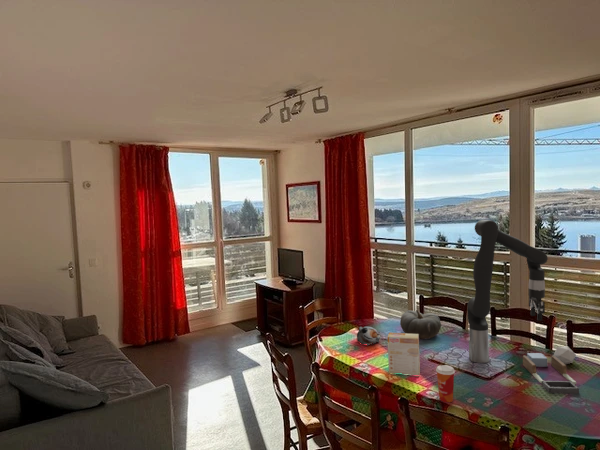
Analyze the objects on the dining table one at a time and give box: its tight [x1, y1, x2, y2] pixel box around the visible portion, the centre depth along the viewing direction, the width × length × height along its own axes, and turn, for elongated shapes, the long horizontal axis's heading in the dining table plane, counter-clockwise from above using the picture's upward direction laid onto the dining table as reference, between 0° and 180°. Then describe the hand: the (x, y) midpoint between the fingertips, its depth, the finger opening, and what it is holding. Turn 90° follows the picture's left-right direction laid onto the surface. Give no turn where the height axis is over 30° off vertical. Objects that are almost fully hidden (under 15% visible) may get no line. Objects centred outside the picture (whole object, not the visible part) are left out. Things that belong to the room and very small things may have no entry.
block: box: [526, 352, 548, 368], centre depth 207 cm, size 7×7×4 cm
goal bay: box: [532, 372, 577, 385], centre depth 189 cm, size 15×9×1 cm, turn 81°
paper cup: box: [435, 364, 456, 403], centre depth 174 cm, size 8×8×14 cm
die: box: [552, 345, 577, 365], centre depth 206 cm, size 8×9×10 cm
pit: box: [541, 380, 580, 395], centre depth 178 cm, size 12×7×2 cm, turn 81°
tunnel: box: [522, 355, 567, 376], centre depth 199 cm, size 15×12×5 cm
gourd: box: [399, 309, 442, 340], centre depth 257 cm, size 25×25×17 cm
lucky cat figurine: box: [356, 326, 382, 346], centre depth 247 cm, size 15×12×14 cm
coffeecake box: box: [387, 332, 421, 376], centre depth 203 cm, size 15×7×20 cm, turn 71°
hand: (536, 318), depth 214 cm, fingers open, 8 cm apart
